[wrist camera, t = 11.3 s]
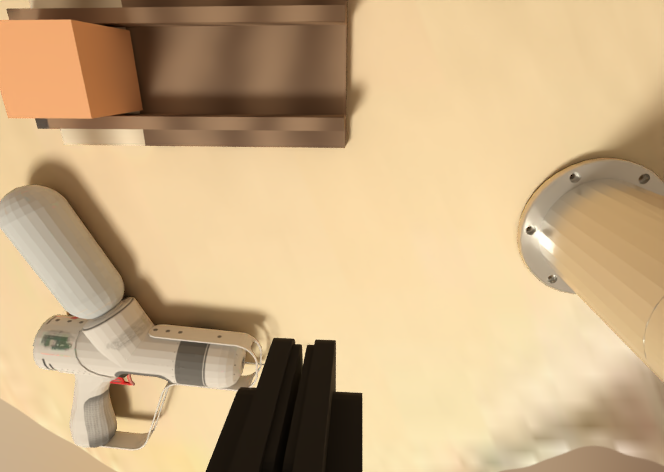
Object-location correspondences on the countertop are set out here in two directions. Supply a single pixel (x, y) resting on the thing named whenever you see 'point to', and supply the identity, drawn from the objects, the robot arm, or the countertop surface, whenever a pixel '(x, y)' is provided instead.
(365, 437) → the countertop surface
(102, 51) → the block
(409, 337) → the countertop surface
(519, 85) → the countertop surface
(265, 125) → the chute
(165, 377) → the gun
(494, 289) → the countertop surface
